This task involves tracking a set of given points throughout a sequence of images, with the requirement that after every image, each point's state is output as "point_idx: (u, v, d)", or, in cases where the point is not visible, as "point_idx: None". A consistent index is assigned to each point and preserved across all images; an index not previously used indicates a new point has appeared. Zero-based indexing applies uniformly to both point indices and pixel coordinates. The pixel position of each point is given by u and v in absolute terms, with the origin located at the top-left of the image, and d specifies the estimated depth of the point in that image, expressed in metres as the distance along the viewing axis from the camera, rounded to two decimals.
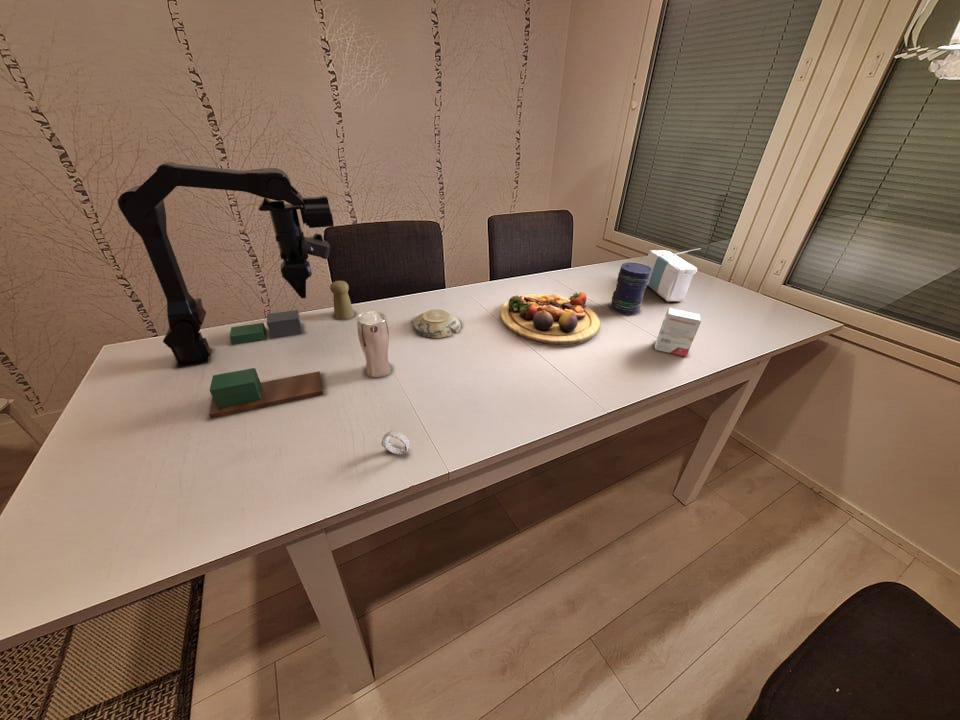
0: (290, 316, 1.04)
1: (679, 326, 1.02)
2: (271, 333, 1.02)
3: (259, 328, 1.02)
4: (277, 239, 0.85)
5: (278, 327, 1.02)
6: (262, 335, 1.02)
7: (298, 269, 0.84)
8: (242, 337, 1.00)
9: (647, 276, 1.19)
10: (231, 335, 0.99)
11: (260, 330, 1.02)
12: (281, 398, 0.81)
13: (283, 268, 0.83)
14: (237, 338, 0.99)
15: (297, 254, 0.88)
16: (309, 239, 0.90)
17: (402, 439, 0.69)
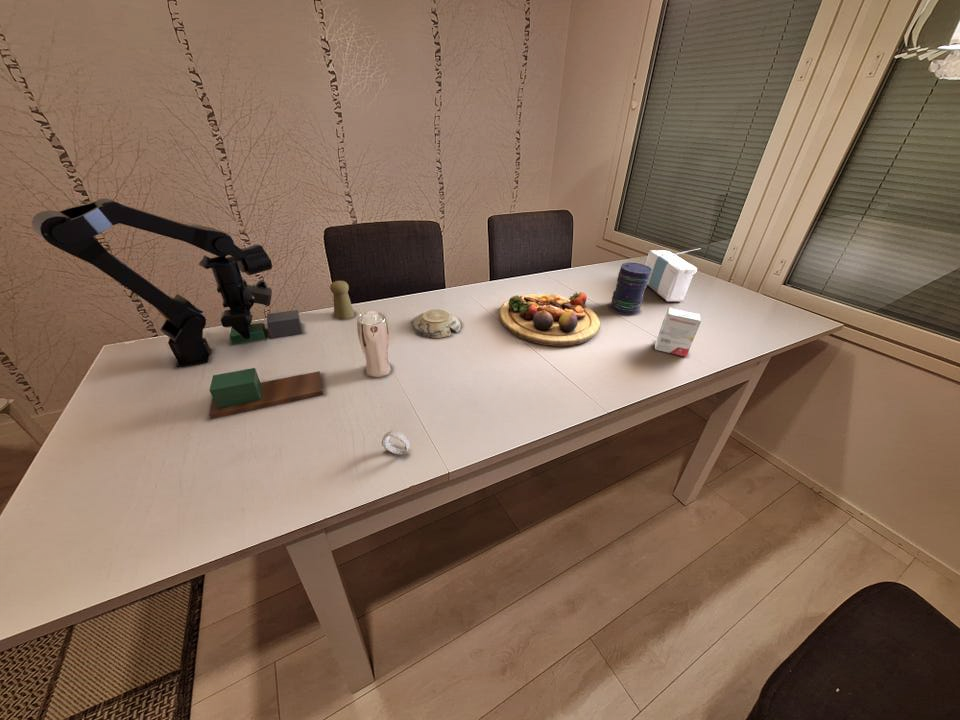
0: (290, 316, 1.04)
1: (679, 326, 1.02)
2: (271, 333, 1.02)
3: (259, 328, 1.02)
4: (218, 290, 0.92)
5: (278, 327, 1.02)
6: (262, 335, 1.02)
7: (237, 319, 0.91)
8: (242, 337, 1.00)
9: (647, 276, 1.19)
10: (231, 335, 0.99)
11: (260, 330, 1.02)
12: (281, 398, 0.81)
13: (222, 318, 0.90)
14: (237, 338, 0.99)
15: (239, 303, 0.95)
16: (251, 288, 0.97)
17: (402, 439, 0.69)
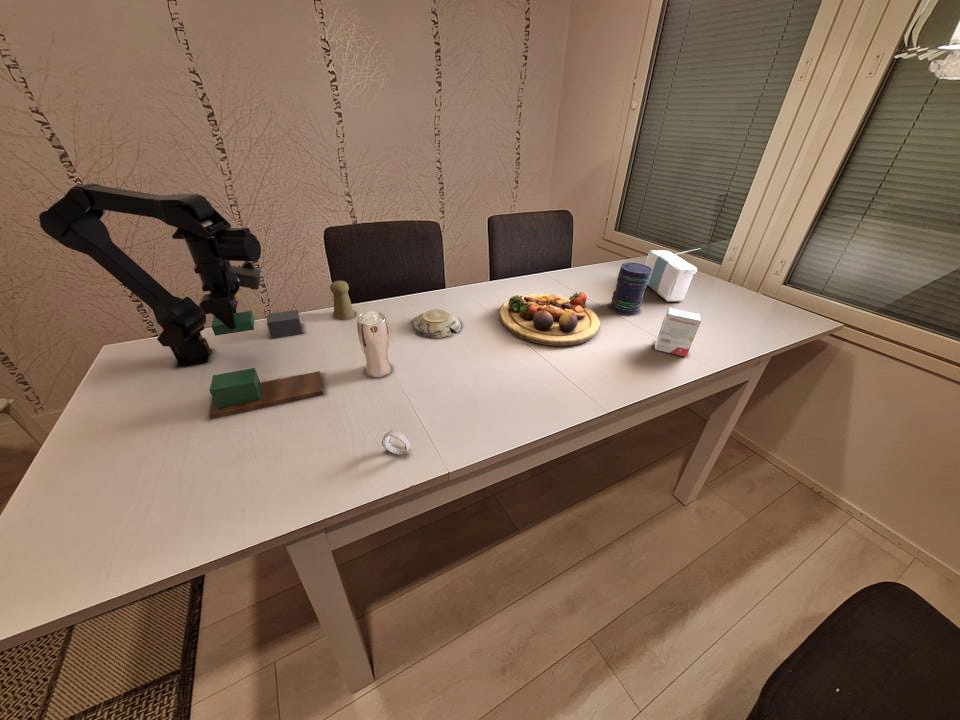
0: (290, 316, 1.04)
1: (679, 326, 1.02)
2: (271, 333, 1.02)
3: (246, 317, 0.88)
4: (196, 271, 0.77)
5: (278, 327, 1.02)
6: (250, 325, 0.87)
7: (219, 304, 0.76)
8: (227, 327, 0.85)
9: (647, 276, 1.19)
10: (213, 325, 0.84)
11: (248, 319, 0.87)
12: (281, 398, 0.81)
13: (201, 304, 0.75)
14: (221, 328, 0.85)
15: (221, 286, 0.81)
16: (236, 268, 0.83)
17: (402, 439, 0.69)
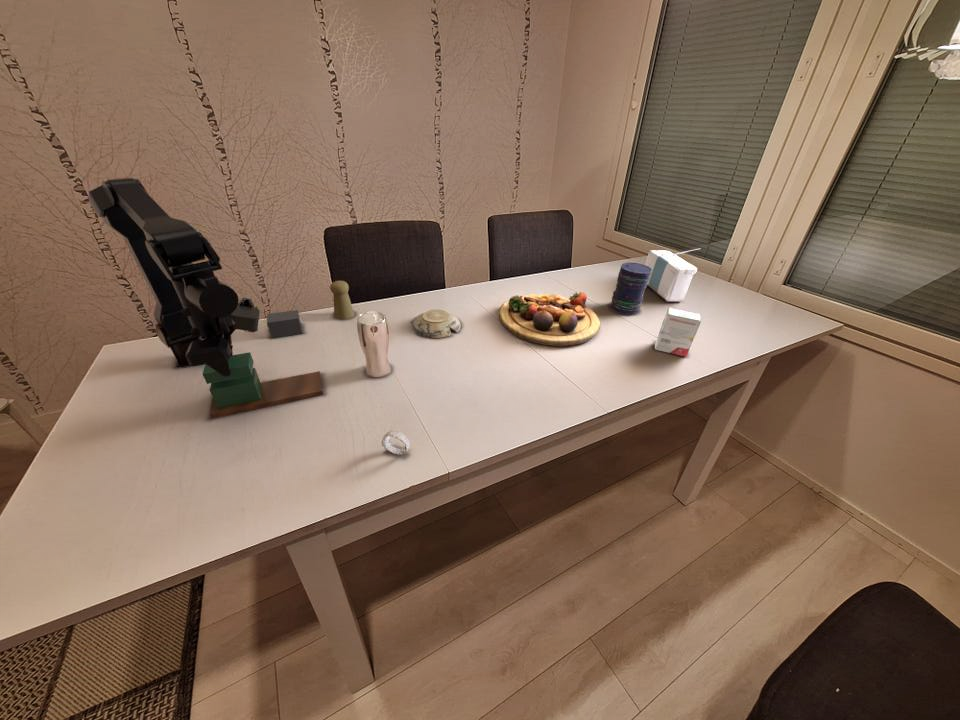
0: (290, 316, 1.04)
1: (679, 326, 1.02)
2: (271, 333, 1.02)
3: (243, 361, 0.77)
4: (184, 314, 0.66)
5: (278, 327, 1.02)
6: (247, 370, 0.76)
7: (209, 354, 0.65)
8: None
9: (647, 276, 1.19)
10: (205, 372, 0.73)
11: (245, 364, 0.76)
12: (281, 398, 0.81)
13: (188, 354, 0.64)
14: (214, 375, 0.74)
15: (214, 330, 0.69)
16: None
17: (402, 439, 0.69)
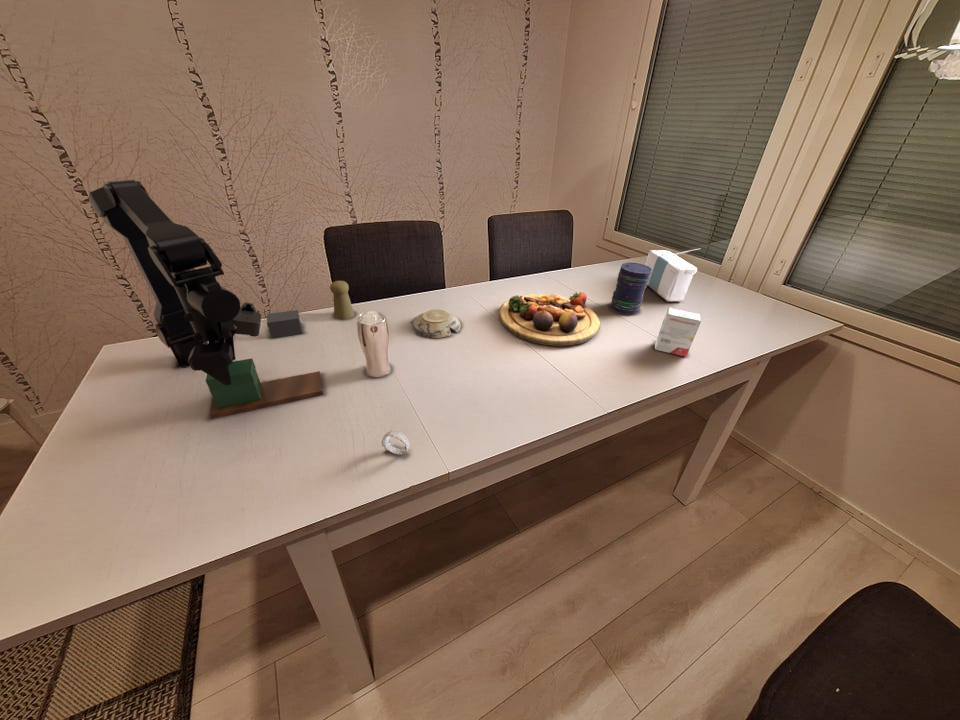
0: (290, 316, 1.04)
1: (679, 326, 1.02)
2: (271, 333, 1.02)
3: (245, 367, 0.77)
4: (186, 319, 0.66)
5: (278, 327, 1.02)
6: (250, 376, 0.77)
7: (212, 359, 0.65)
8: None
9: (647, 276, 1.19)
10: (208, 378, 0.74)
11: (247, 370, 0.77)
12: (281, 398, 0.81)
13: (191, 359, 0.64)
14: (217, 381, 0.74)
15: (216, 334, 0.70)
16: None
17: (402, 439, 0.69)
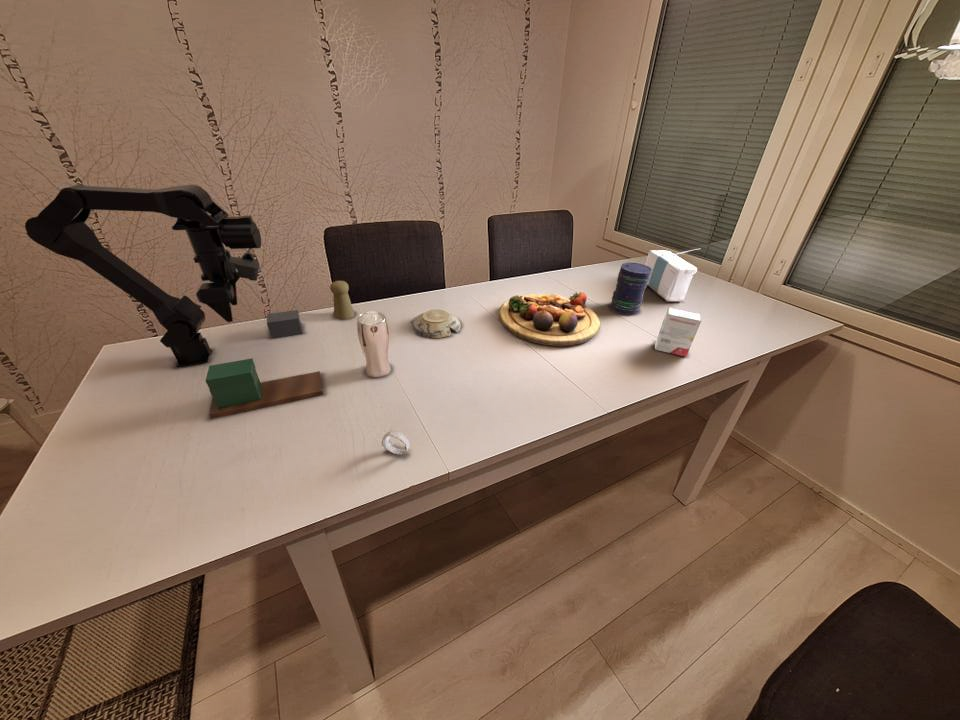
0: (290, 316, 1.04)
1: (679, 326, 1.02)
2: (271, 333, 1.02)
3: (245, 367, 0.77)
4: (196, 260, 0.79)
5: (278, 327, 1.02)
6: (250, 376, 0.77)
7: (216, 293, 0.78)
8: (223, 380, 0.75)
9: (647, 276, 1.19)
10: (208, 378, 0.74)
11: (247, 370, 0.77)
12: (281, 398, 0.81)
13: (198, 292, 0.77)
14: (217, 381, 0.74)
15: (220, 276, 0.82)
16: (235, 259, 0.84)
17: (402, 439, 0.69)
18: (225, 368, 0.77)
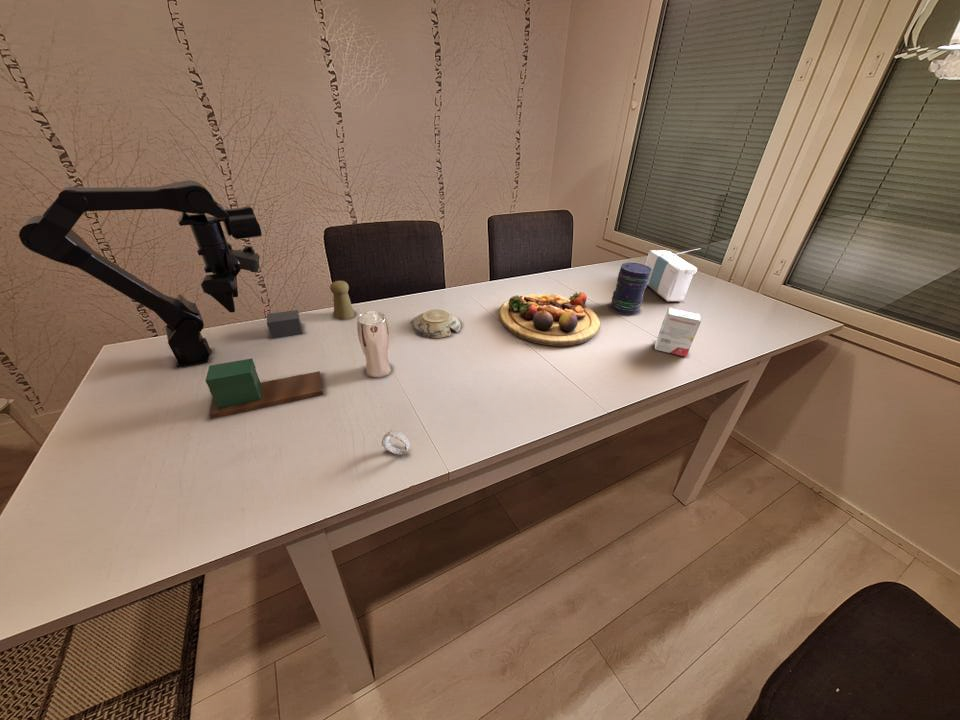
0: (290, 316, 1.04)
1: (679, 326, 1.02)
2: (271, 333, 1.02)
3: (245, 367, 0.77)
4: (199, 253, 0.83)
5: (278, 327, 1.02)
6: (250, 376, 0.77)
7: (220, 284, 0.82)
8: (223, 380, 0.75)
9: (647, 276, 1.19)
10: (208, 378, 0.74)
11: (247, 370, 0.77)
12: (281, 398, 0.81)
13: (203, 283, 0.80)
14: (217, 381, 0.74)
15: (223, 268, 0.86)
16: (237, 252, 0.88)
17: (402, 439, 0.69)
18: (225, 368, 0.77)
